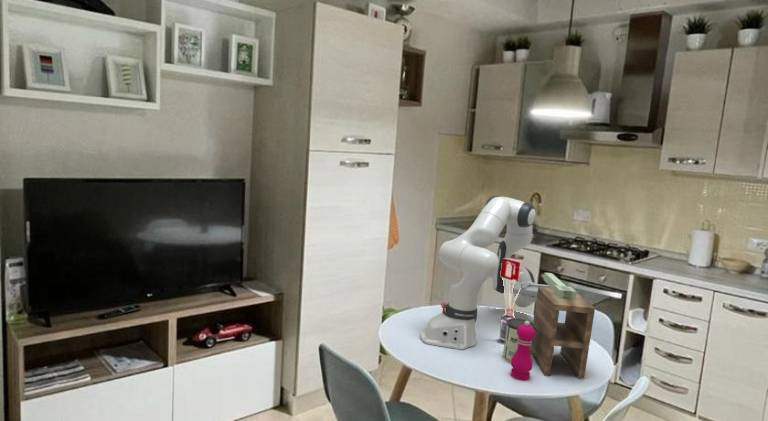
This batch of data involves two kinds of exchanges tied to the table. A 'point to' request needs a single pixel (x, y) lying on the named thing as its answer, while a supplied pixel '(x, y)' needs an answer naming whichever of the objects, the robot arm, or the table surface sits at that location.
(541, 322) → the walnut shelf
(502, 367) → the table surface
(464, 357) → the table surface
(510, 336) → the coffee can
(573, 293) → the green bar
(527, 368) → the pepper mill
